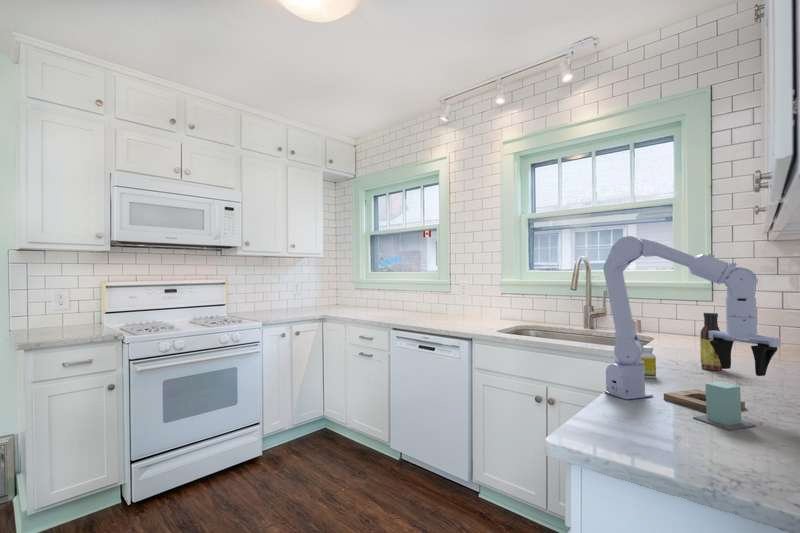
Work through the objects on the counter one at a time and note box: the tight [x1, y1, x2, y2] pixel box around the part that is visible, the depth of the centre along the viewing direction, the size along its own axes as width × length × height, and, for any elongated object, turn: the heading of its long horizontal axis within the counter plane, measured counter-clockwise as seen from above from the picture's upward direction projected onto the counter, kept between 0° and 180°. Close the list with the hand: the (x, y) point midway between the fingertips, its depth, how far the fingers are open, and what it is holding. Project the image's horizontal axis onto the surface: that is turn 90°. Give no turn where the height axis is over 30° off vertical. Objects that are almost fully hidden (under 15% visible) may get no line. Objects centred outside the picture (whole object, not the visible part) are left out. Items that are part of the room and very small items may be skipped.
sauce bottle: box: [699, 312, 723, 372], centre depth 142 cm, size 7×6×20 cm
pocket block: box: [663, 388, 746, 413], centre depth 104 cm, size 12×12×2 cm
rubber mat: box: [692, 414, 757, 431], centre depth 90 cm, size 8×8×1 cm
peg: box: [705, 381, 742, 425], centre depth 91 cm, size 4×4×8 cm
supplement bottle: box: [640, 345, 657, 379], centre depth 132 cm, size 5×5×10 cm
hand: (742, 371), depth 98 cm, fingers open, 7 cm apart
